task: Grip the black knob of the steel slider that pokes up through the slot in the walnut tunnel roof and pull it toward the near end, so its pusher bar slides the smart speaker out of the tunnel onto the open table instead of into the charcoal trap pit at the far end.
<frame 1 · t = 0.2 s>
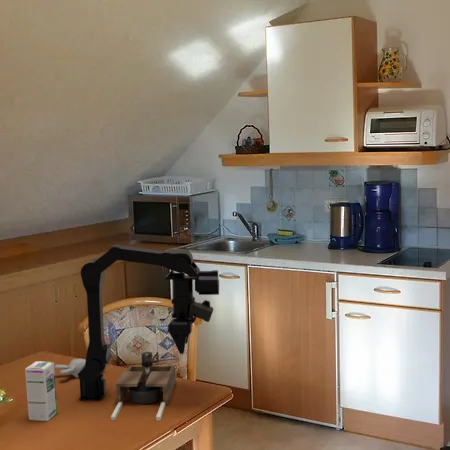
hand: (183, 348, 195), 14 cm above the table, tool pointing down, fingers open, 9 cm apart
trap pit: (150, 385, 205), resting in tunnel
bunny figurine: (81, 376, 216), on the table
syrup box: (43, 417, 184), on the table
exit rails: (138, 411, 185), on the table
slider: (147, 372, 200), point 6 cm above the table, slide at 0.0 cm
tunnel: (145, 398, 195), on the table
smart speaker: (145, 400, 195), on the table
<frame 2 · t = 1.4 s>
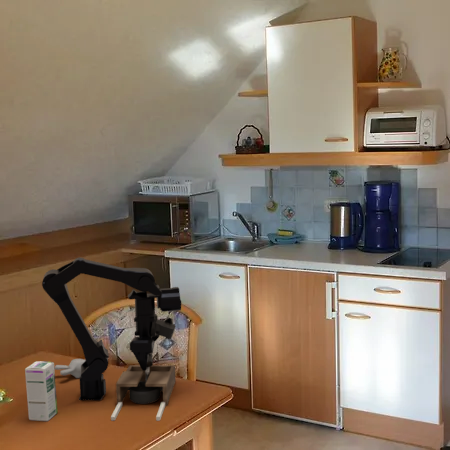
hand: (147, 365, 200), 8 cm above the table, tool pointing down, fingers open, 9 cm apart
nothing on the table moved.
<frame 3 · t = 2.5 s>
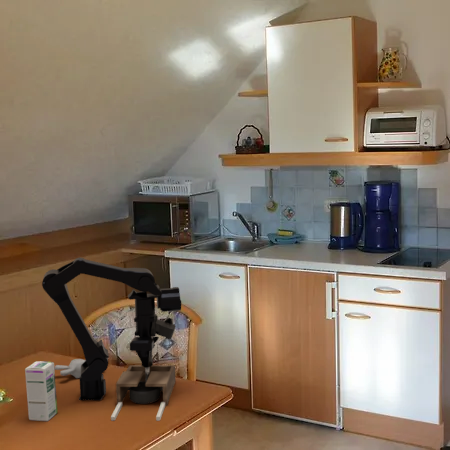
hand: (147, 365, 200), 8 cm above the table, tool pointing down, fingers closed on slider, 3 cm apart
slider: (147, 372, 200), point 6 cm above the table, slide at 0.0 cm, touching gripper
everything else where it was.
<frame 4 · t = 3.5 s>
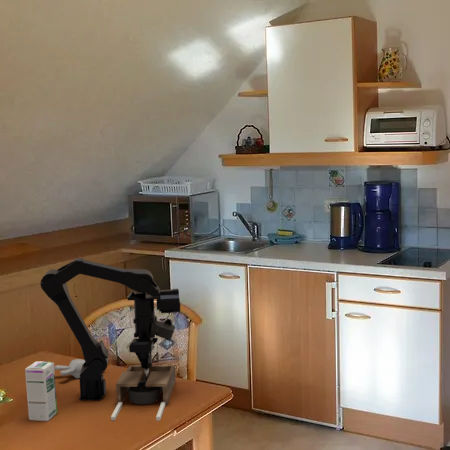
hand: (146, 366, 198), 8 cm above the table, tool pointing down, fingers closed on slider, 3 cm apart
slider: (146, 373, 199), point 6 cm above the table, slide at 1.2 cm, touching gripper, smart speaker
smart speaker: (144, 400, 194), on the table, touching slider
everything else where it was.
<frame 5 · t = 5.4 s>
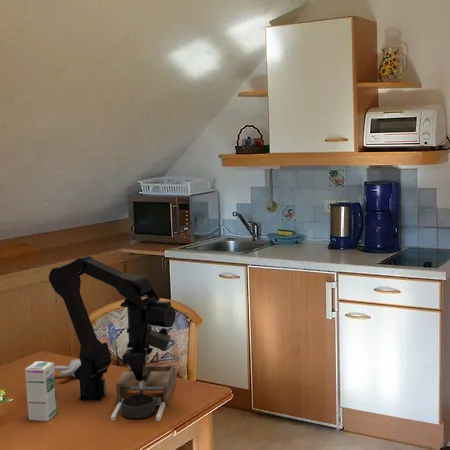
hand: (140, 378, 189), 8 cm above the table, tool pointing down, fingers closed on slider, 3 cm apart
slider: (141, 385, 189), point 6 cm above the table, slide at 10.8 cm, touching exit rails, gripper, smart speaker
smart speaker: (138, 414, 185), on the table, touching slider
everything else where it was.
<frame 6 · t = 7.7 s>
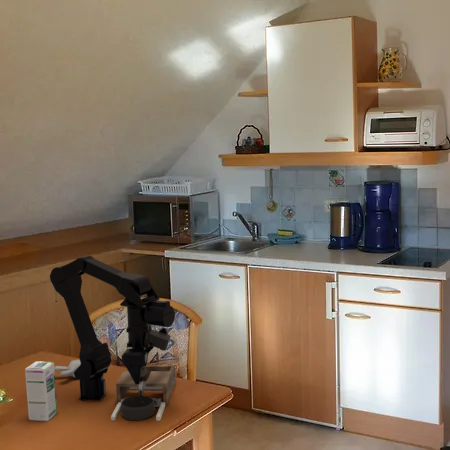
hand: (140, 378, 188), 8 cm above the table, tool pointing down, fingers open, 9 cm apart
slider: (140, 386, 189), point 6 cm above the table, slide at 11.4 cm, touching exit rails
smart speaker: (138, 415, 184), on the table
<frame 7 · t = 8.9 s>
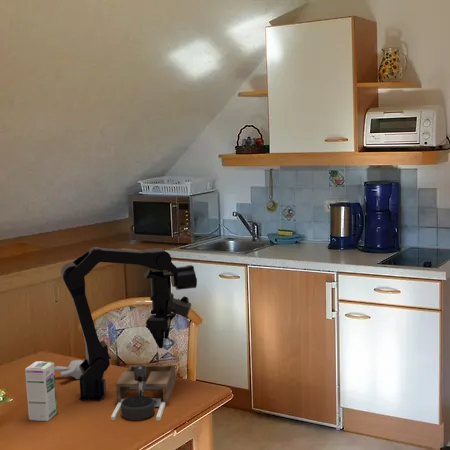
hand: (163, 343, 203), 13 cm above the table, tool pointing down, fingers open, 9 cm apart
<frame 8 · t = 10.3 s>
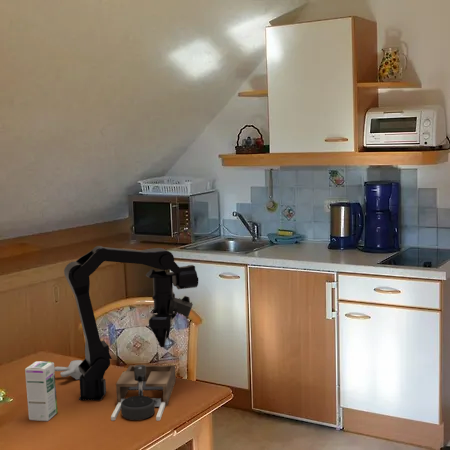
hand: (164, 342, 205), 13 cm above the table, tool pointing down, fingers open, 9 cm apart
at the end: smart speaker inside the target area (2.2 cm from its centre), on the table; smart speaker tilted 0°; slider slide at 11.4 cm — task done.
